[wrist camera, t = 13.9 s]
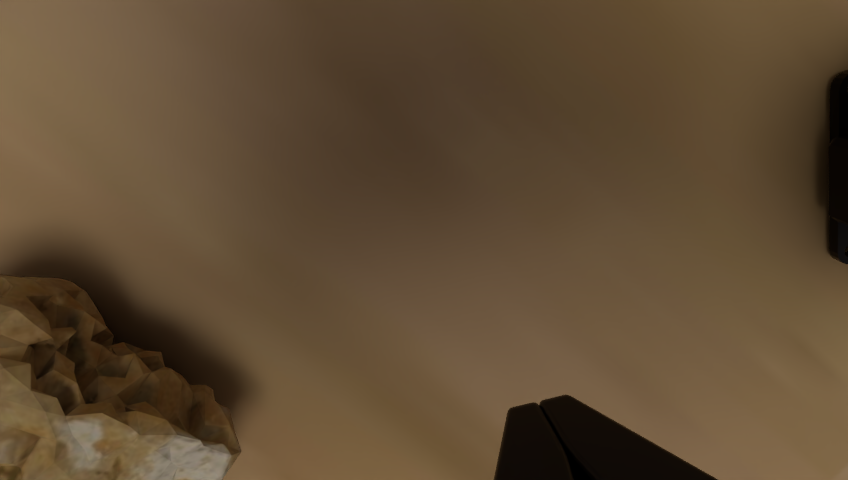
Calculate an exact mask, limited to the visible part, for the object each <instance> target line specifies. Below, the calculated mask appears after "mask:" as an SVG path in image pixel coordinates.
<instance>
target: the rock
mask: <svg viewBox="0 0 848 480" xmlns="http://www.w3.org/2000/svg"><path fill="white" fill-rule="evenodd" d="M113 338H114V335H113V334H112V333H111V331H110V330H109V329H108V328H107V326H106V324H105V322H104V320H103V318H102V315H101V314H100V312H99V311H98V309H97V308H96V306H95V305H94V303H93V301H92V300H91V298H90V297H89V295H88V293H87V292H86V291H85V290H83V289H81V288H80V287H78V286H77V285H76V284H74V283H73V282H71V281H67V280H64V279H60V278H44V277H23V278H21V277H14V276H8V275H1V274H0V480H222V479H223V477H224V476H225V474H226V473H227V472H228V470H229V469H230V467H231V466H232V464H233V463H234V461H235V460H236V458H237V457H238V455H239V454H240V453H241V449H240V446H239V443H238V440H237V437H236V434H235V431H234V427H233V423H232V419H231V415H230V411H229V408H227V407H225V406H222V405H220V404H218V403H217V402H216V401H215V397H214V392H213V389H211V388H210V387H208V386H207V385H189V383H188V382H187V381H186V380H185V378H184V377H183V376H182V375H181V374H179V373H177V372H176V371H174V370H172V369H171V368H167V367H165V364H164V361H163V357H162V353H161V352H157V351H146V350H143V349H140V348H138V347H135V346H132V345H130V344H127V343H124V342H122V343H118V344H114V345H112V343H113Z"/></svg>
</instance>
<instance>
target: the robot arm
mask: <svg viewBox="0 0 848 480" xmlns="http://www.w3.org/2000/svg"><path fill="white" fill-rule="evenodd" d="M847 87H848V70H846V71H844V72H841V73H839V74H838V75H837V76H836V77H835V78H834V80H833V82H832V84H831V89H830V146H829V215H830V228H829V250H830V255H831V256H832V257H833V258H834V259H836V260H838V261H840V262H842V263H845V264H848V251H847V252H845V249H846V247H847V246H848V92H847ZM494 480H718V479H716V478H714V477H712V476H711V475H709V474H707V473H705V472H704V471H702V470H700V469H698V468H696V467H695V466H693V465H691V464H689V463H688V462H686V461H684V460H682V459H681V458H679V457H677V456H675V455H674V454H672V453H670V452H668V451H667V450H665V449H663V448H661V447H659V446H658V445H656V444H654V443H652V442H651V441H649V440H647V439H645V438H644V437H642V436H640V435H638V434H637V433H635V432H633V431H631V430H630V429H628V428H626V427H624V426H623V425H621V424H619V423H617V422H615V421H614V420H612V419H610V418H608V417H607V416H605V415H603V414H601V413H600V412H598V411H596V410H594V409H593V408H591V407H589V406H587V405H586V404H584V403H582V402H580V401H578V400H577V399H575V398H573V397H571V396H569V395H562V396H558V397H554V398H550V399H545V400H542V401H541V402H540V404H539V405H538V404H537V403H529V404H525V405H520V406H516V407H512V408H510V409H509V410H508V413H507V417H506V422H505V427H504V432H503V437H502V442H501V447H500V452H499V457H498V462H497V467H496V472H495V477H494Z"/></svg>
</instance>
